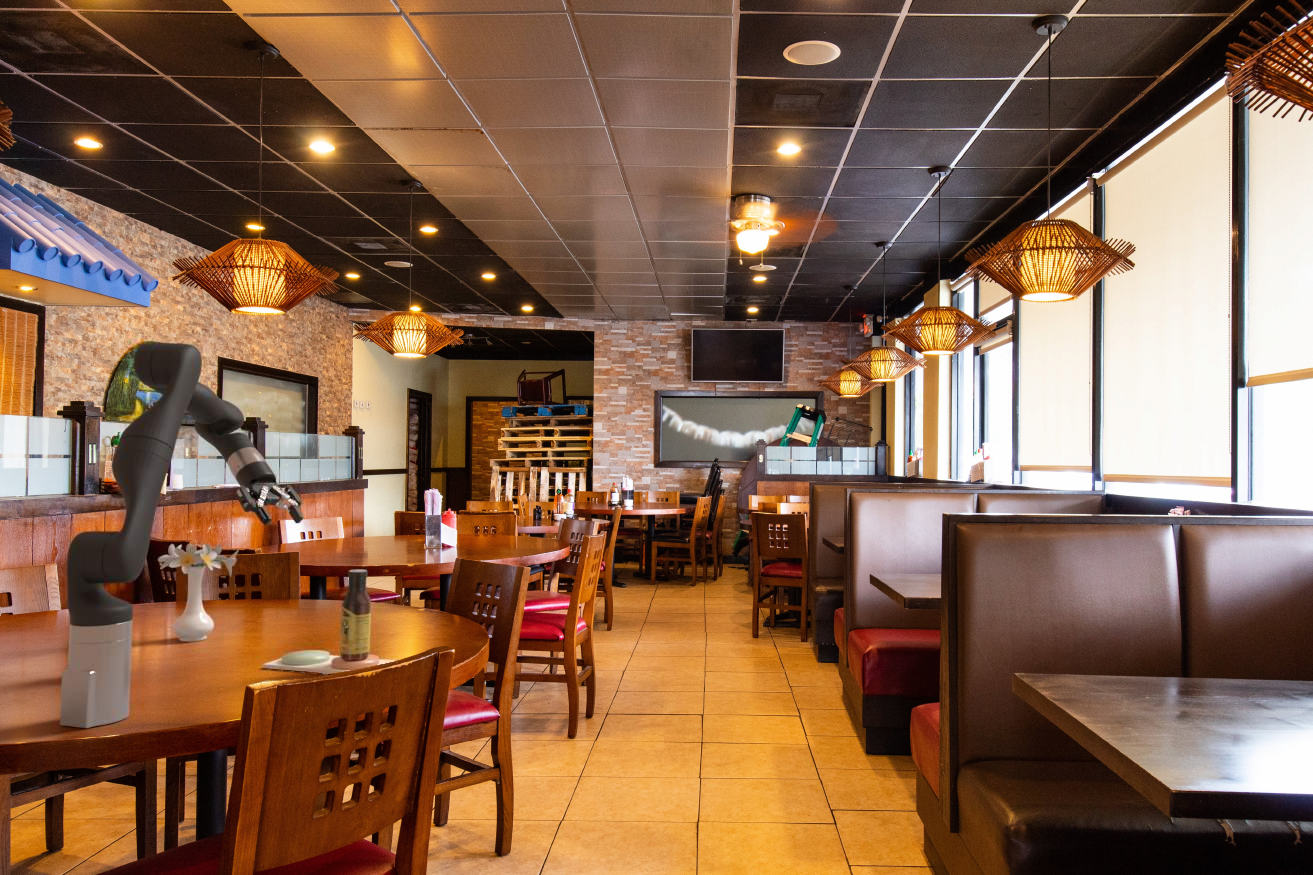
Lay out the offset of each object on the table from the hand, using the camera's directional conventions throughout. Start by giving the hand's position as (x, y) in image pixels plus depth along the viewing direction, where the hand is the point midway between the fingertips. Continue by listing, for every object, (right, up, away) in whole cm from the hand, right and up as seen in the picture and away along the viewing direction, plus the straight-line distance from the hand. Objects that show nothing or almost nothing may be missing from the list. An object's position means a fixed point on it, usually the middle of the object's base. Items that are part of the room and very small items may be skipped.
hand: (284, 521), depth 184 cm
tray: (+11, -33, -1) cm, 34 cm away
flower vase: (-36, -34, +27) cm, 56 cm away
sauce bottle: (+17, -31, -2) cm, 35 cm away
